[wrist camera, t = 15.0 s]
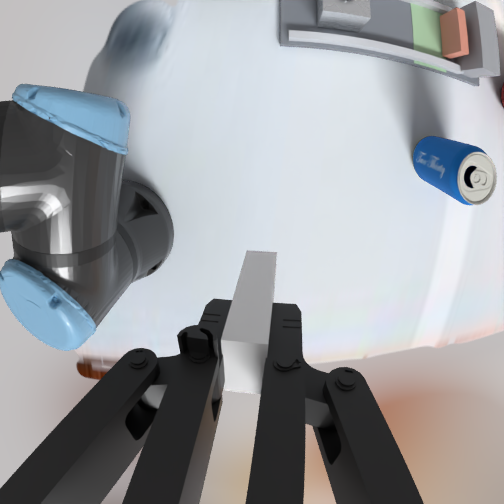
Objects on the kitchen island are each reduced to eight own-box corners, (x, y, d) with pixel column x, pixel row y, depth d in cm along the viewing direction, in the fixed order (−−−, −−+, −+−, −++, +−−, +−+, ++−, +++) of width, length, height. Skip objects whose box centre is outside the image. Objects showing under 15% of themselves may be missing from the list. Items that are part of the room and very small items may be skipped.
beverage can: (413, 131, 32) (459, 141, 21) (451, 140, 31) (503, 155, 21) (407, 178, 35) (449, 204, 24) (445, 184, 34) (492, 212, 23)
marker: (442, 56, 25) (461, 51, 21) (439, 16, 22) (456, 7, 18) (449, 58, 25) (468, 54, 20) (446, 19, 22) (464, 10, 18)
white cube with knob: (317, 26, 26) (324, 7, 20) (316, -10, 24) (322, -34, 18) (358, 32, 26) (373, 15, 20) (356, -4, 23) (369, -26, 17)
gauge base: (280, 46, 29) (278, 27, 22) (280, -23, 25) (278, -51, 17) (474, 86, 27) (508, 85, 20) (470, 21, 22) (500, 10, 15)
